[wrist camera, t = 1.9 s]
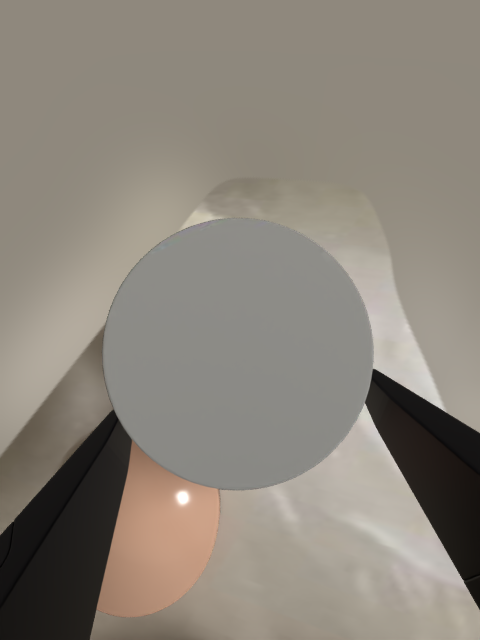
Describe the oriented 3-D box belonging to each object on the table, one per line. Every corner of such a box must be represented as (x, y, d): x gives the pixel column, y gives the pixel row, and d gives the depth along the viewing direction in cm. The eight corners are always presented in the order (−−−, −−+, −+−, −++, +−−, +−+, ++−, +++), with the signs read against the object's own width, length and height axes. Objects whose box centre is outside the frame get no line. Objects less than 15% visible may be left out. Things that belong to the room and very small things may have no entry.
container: (199, 356, 19) (37, 322, 4) (244, 319, 19) (251, 164, 4) (237, 403, 18) (216, 583, 3) (282, 363, 18) (445, 354, 4)
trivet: (252, 512, 16) (253, 523, 15) (127, 640, 15) (117, 663, 14) (157, 391, 18) (151, 393, 17) (36, 497, 17) (21, 507, 15)
